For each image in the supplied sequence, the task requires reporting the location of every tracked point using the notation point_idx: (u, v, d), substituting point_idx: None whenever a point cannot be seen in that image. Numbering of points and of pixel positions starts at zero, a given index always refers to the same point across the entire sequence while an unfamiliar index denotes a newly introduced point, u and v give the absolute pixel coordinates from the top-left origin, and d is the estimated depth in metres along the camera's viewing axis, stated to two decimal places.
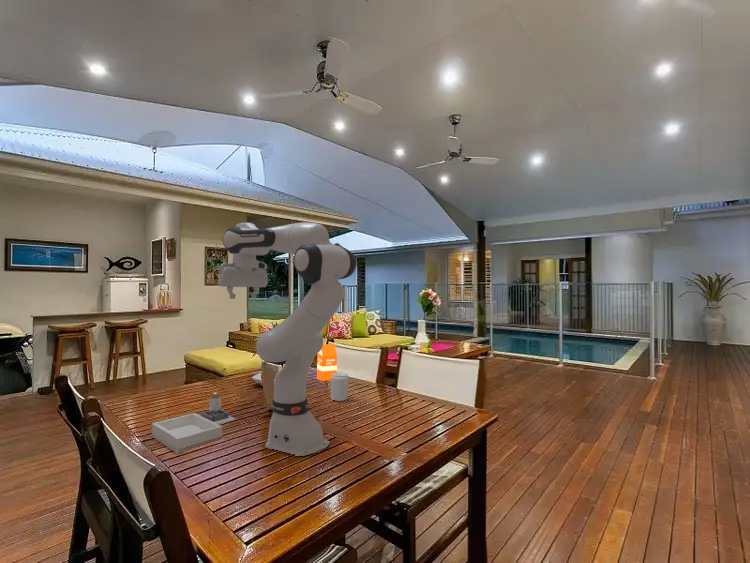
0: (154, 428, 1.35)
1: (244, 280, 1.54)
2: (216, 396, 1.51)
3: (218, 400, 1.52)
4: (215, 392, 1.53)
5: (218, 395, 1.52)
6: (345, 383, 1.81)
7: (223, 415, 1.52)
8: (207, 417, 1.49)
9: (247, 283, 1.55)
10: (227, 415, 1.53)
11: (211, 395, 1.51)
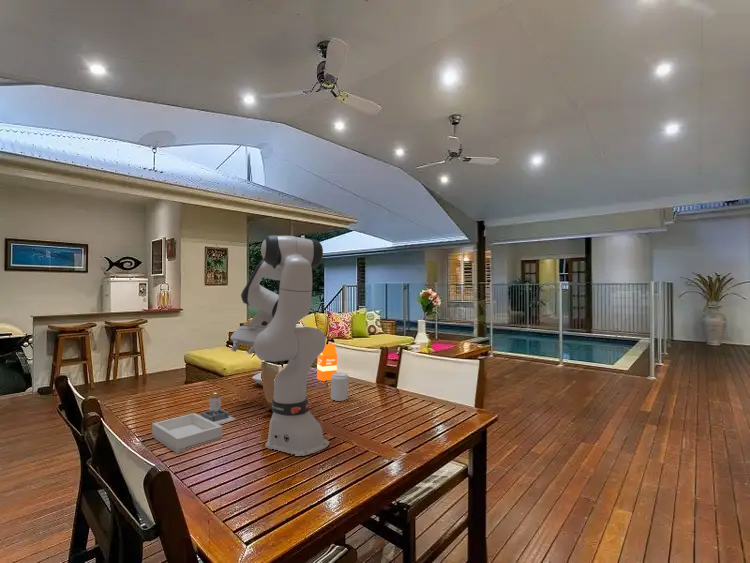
0: (154, 428, 1.35)
1: (247, 335, 1.68)
2: (216, 396, 1.51)
3: (218, 400, 1.52)
4: (215, 392, 1.53)
5: (218, 395, 1.52)
6: (345, 383, 1.81)
7: (223, 415, 1.52)
8: (207, 417, 1.49)
9: (248, 337, 1.66)
10: (227, 415, 1.53)
11: (211, 395, 1.51)
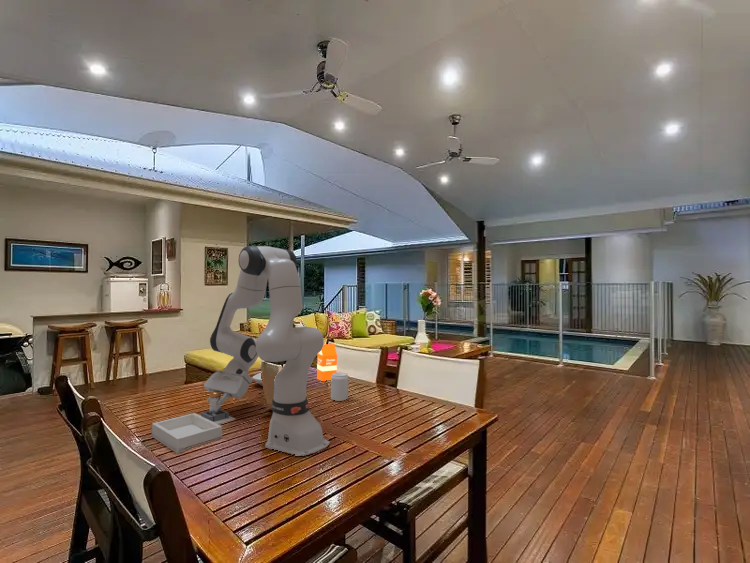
0: (154, 428, 1.35)
1: (220, 384, 1.56)
2: (216, 396, 1.51)
3: None
4: (215, 392, 1.53)
5: (218, 395, 1.52)
6: (345, 383, 1.81)
7: (223, 415, 1.52)
8: (207, 417, 1.49)
9: (222, 387, 1.55)
10: (227, 415, 1.53)
11: (211, 395, 1.51)
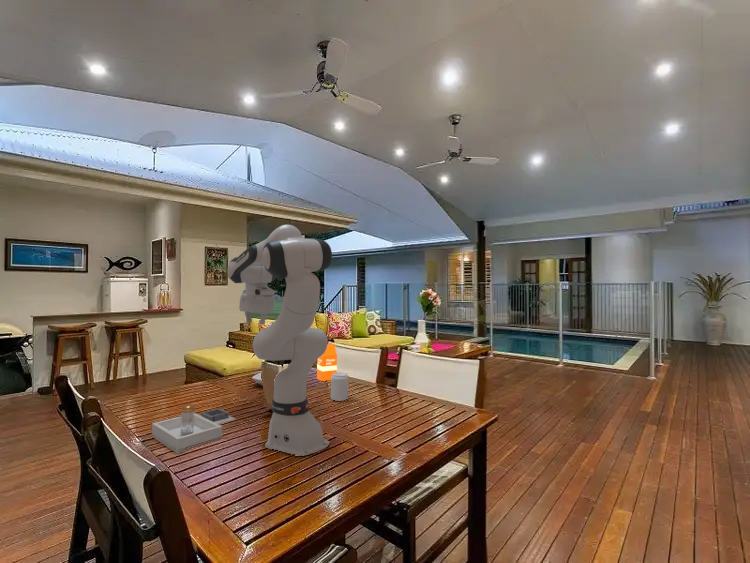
0: (154, 428, 1.35)
1: (251, 306, 1.63)
2: (189, 410, 1.34)
3: (191, 415, 1.35)
4: (188, 406, 1.36)
5: (191, 409, 1.35)
6: (345, 383, 1.81)
7: (223, 415, 1.52)
8: (207, 417, 1.49)
9: (253, 308, 1.62)
10: (227, 415, 1.53)
11: (183, 409, 1.34)
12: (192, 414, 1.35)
